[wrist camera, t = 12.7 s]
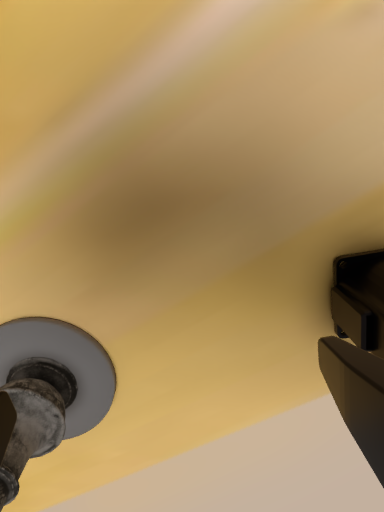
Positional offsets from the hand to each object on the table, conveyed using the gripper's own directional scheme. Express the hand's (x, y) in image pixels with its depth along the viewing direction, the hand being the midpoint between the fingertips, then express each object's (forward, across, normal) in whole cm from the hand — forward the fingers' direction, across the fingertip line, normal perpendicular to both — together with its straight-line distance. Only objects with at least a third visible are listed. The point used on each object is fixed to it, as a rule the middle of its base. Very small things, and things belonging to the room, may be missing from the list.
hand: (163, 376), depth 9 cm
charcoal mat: (+13, +12, +9) cm, 20 cm away
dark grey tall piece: (+12, +12, +9) cm, 19 cm away
